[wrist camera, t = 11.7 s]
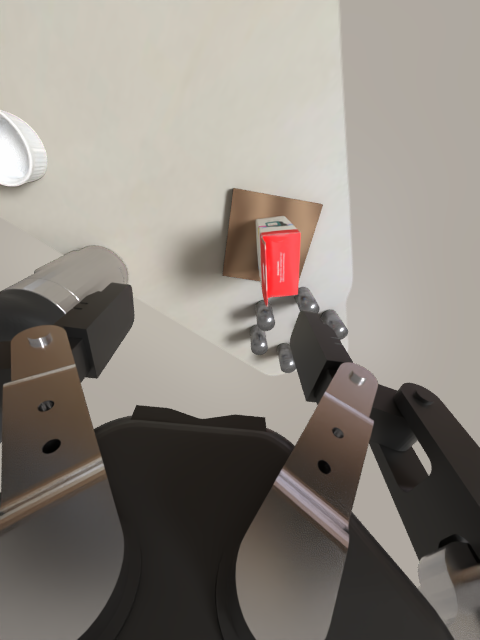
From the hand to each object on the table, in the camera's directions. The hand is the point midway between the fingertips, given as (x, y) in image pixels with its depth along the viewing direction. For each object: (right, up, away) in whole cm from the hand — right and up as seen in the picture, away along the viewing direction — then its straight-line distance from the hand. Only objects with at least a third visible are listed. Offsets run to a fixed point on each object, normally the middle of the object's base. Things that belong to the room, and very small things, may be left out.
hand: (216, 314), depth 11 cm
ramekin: (-30, +24, +22) cm, 45 cm away
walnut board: (+6, +13, +29) cm, 33 cm away
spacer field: (+12, -1, +39) cm, 41 cm away
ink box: (+6, +13, +28) cm, 32 cm away
